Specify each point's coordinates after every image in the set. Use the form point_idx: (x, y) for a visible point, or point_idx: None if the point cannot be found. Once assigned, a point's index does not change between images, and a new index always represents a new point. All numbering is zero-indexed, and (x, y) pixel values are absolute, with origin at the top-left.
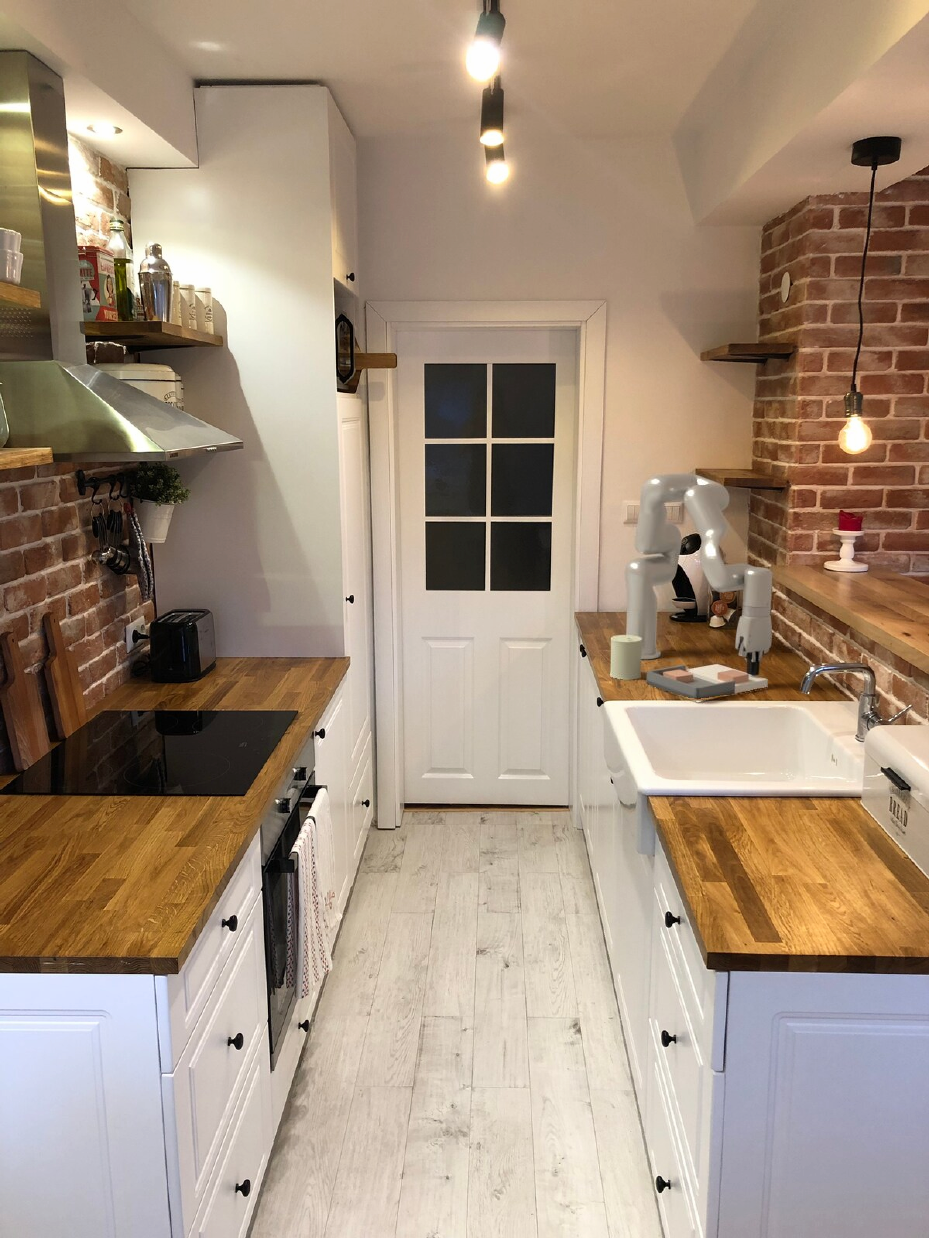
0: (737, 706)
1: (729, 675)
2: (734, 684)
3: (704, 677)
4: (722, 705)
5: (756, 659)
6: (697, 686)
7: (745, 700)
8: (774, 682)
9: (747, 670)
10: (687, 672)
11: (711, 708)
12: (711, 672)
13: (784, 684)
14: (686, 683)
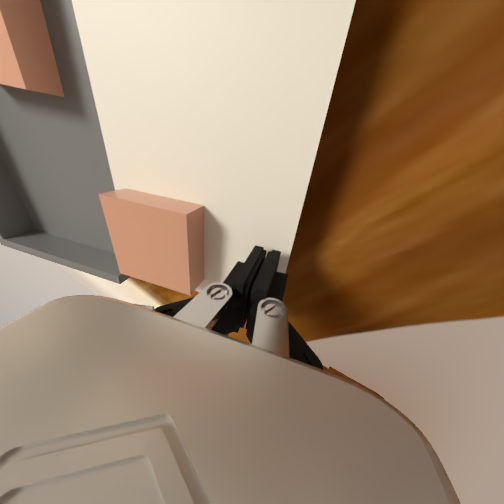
0: (116, 298)
1: (120, 252)
2: (126, 277)
3: (102, 116)
4: (93, 276)
5: (248, 334)
6: (59, 168)
7: (151, 295)
8: (367, 287)
9: (237, 263)
10: (4, 31)
11: (67, 270)
12: (162, 73)
13: (362, 317)
14: (34, 108)
